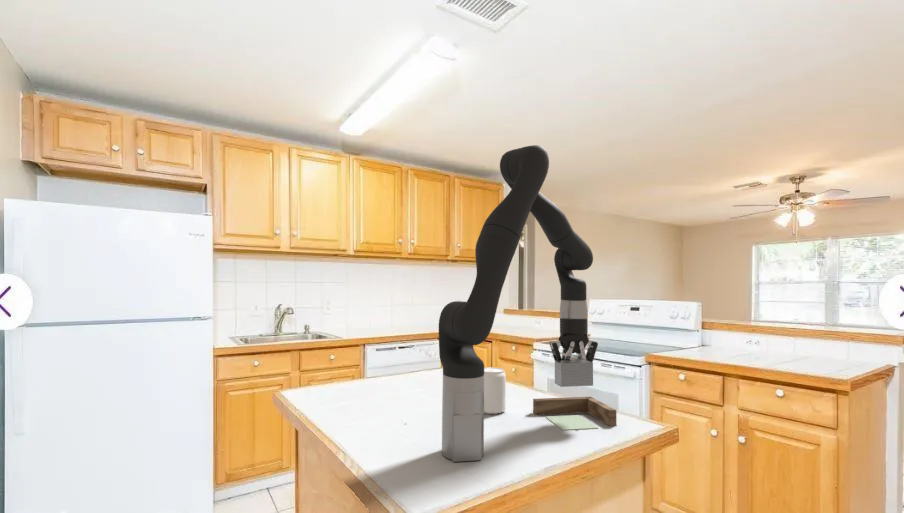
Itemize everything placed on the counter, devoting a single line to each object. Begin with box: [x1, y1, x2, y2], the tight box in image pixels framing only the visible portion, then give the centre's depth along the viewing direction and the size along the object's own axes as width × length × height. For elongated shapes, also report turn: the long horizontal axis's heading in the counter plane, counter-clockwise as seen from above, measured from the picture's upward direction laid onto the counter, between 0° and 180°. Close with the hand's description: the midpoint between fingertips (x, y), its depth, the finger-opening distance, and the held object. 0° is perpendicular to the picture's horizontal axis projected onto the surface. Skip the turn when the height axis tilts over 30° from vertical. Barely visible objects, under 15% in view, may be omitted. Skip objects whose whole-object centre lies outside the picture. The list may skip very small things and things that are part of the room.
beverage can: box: [484, 366, 507, 415], centre depth 130 cm, size 8×8×12 cm
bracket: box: [554, 356, 594, 388], centre depth 121 cm, size 9×9×6 cm
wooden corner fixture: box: [532, 396, 617, 427], centre depth 123 cm, size 14×18×4 cm
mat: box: [545, 414, 599, 431], centre depth 120 cm, size 11×10×1 cm
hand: (573, 378), depth 123 cm, fingers closed on bracket, 4 cm apart
